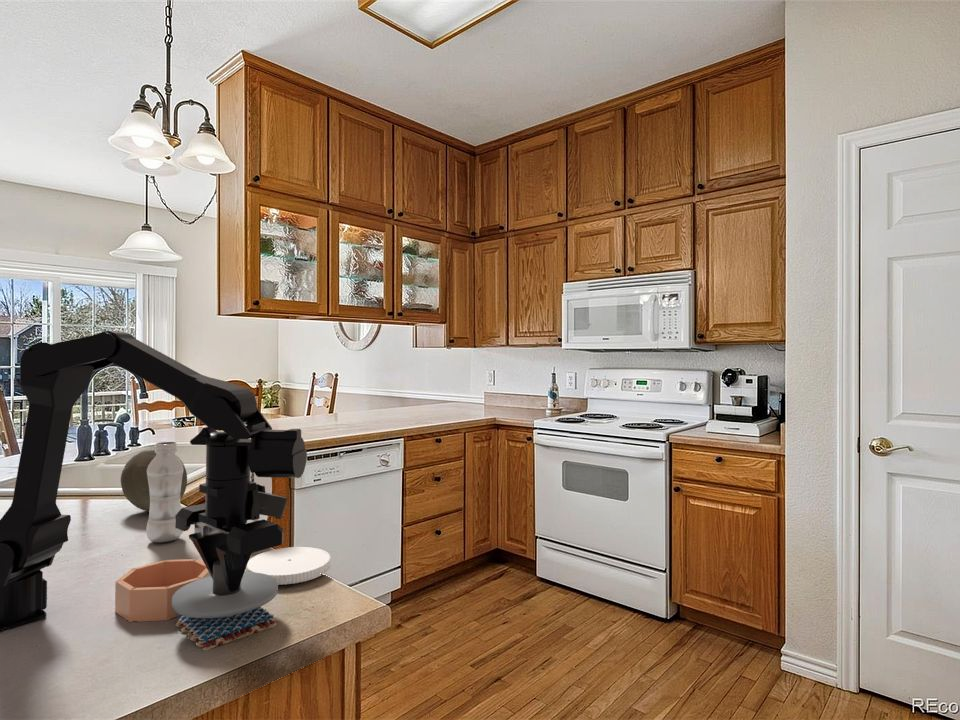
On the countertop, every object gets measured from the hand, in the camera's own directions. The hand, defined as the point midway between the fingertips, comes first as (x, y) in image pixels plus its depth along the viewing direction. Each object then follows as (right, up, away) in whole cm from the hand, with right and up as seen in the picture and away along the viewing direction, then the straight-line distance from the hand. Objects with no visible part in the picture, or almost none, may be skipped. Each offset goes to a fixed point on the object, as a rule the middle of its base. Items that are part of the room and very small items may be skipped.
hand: (226, 587), depth 79 cm
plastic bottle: (-28, -5, +35) cm, 46 cm away
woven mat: (0, -6, 0) cm, 6 cm away
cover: (0, -1, 0) cm, 1 cm away
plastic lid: (+2, -6, +20) cm, 21 cm away
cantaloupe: (-43, -5, +56) cm, 71 cm away
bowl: (-12, -5, +7) cm, 15 cm away
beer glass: (-11, -5, +36) cm, 38 cm away
